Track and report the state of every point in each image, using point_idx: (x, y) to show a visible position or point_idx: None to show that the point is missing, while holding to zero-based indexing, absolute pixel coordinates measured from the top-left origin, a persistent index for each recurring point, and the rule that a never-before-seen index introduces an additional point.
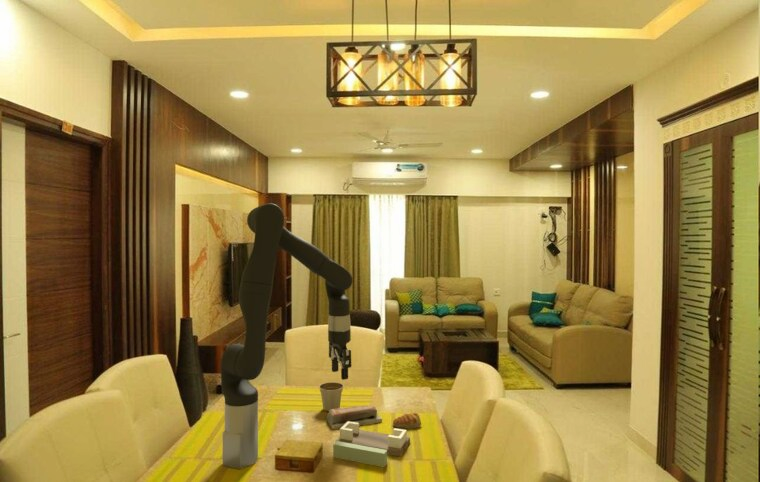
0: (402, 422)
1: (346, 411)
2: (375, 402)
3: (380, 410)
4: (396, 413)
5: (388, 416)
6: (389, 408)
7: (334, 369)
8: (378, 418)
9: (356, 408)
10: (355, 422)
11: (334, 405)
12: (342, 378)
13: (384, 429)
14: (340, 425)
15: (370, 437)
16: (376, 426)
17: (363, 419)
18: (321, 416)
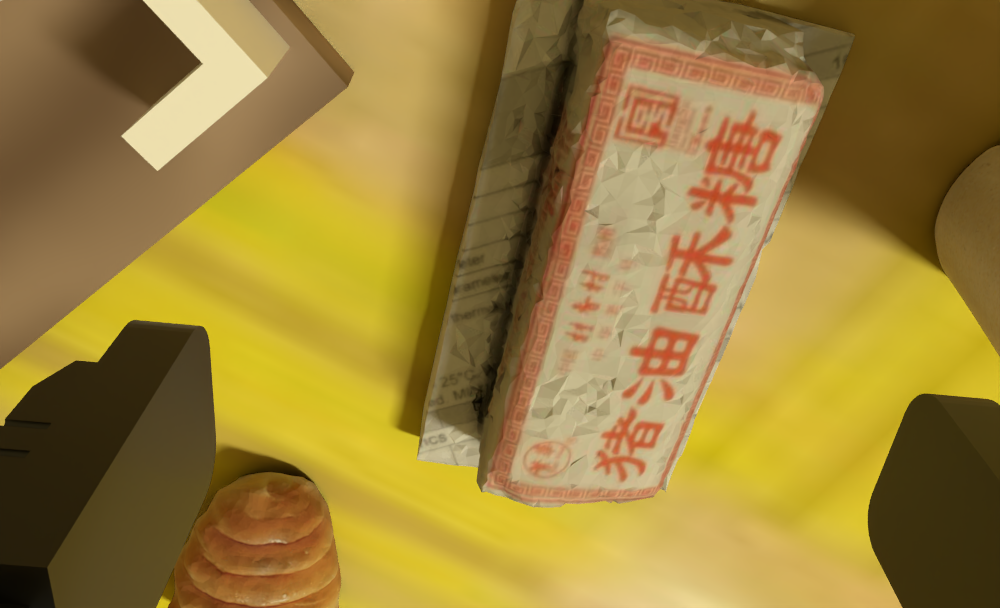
0: (200, 536)
1: (601, 222)
2: (827, 582)
3: (650, 537)
4: (515, 595)
5: (497, 527)
6: (638, 602)
7: (932, 478)
8: (445, 440)
9: (610, 351)
10: (187, 139)
11: (966, 232)
12: (129, 341)
13: (263, 383)
14: (505, 57)
15: (15, 165)
16: (357, 361)
17: (497, 325)
18: (939, 16)
